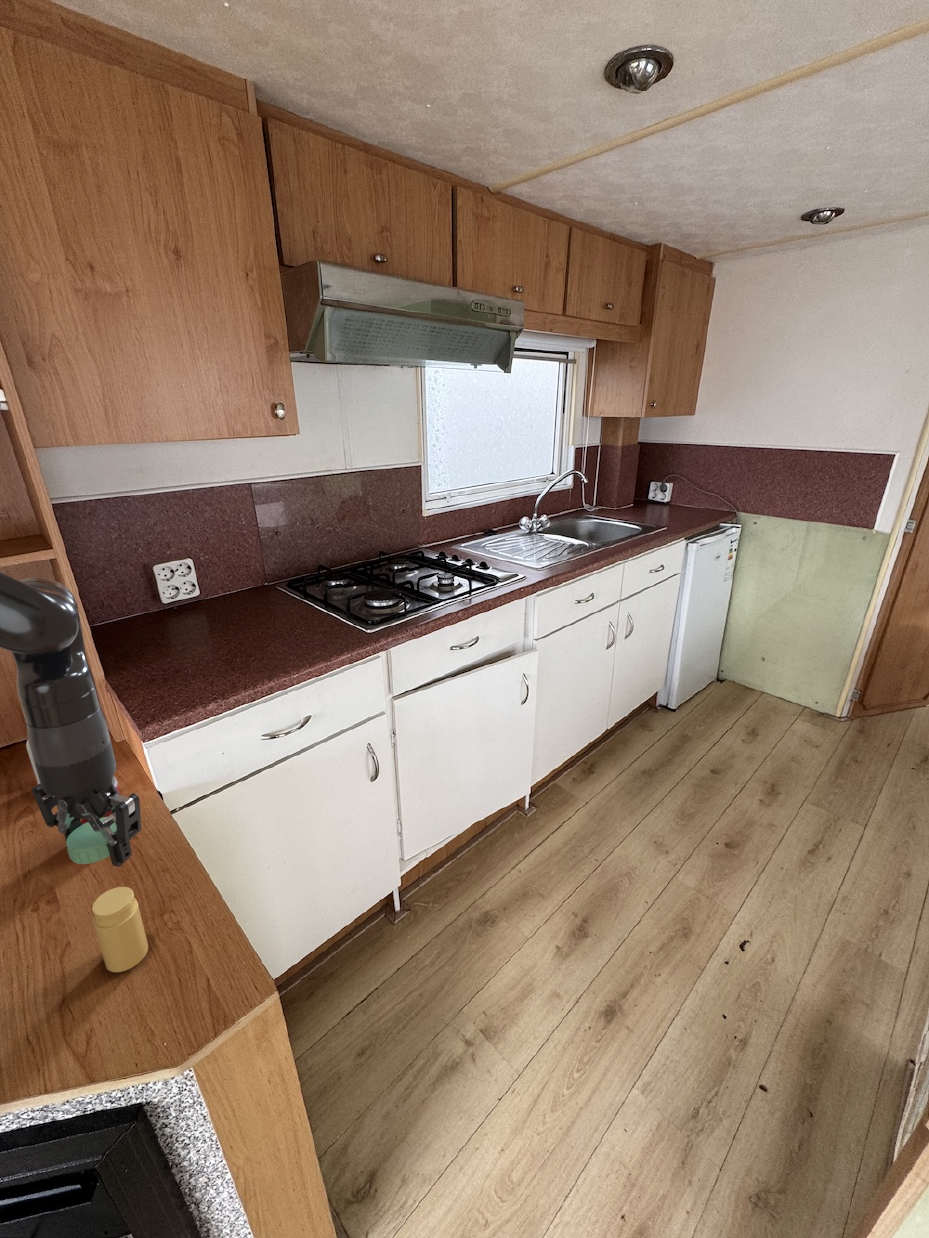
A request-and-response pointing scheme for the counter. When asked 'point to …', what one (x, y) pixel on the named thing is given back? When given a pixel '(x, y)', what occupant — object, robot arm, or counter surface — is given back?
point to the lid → (88, 844)
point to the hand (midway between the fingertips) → (101, 856)
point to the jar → (119, 929)
